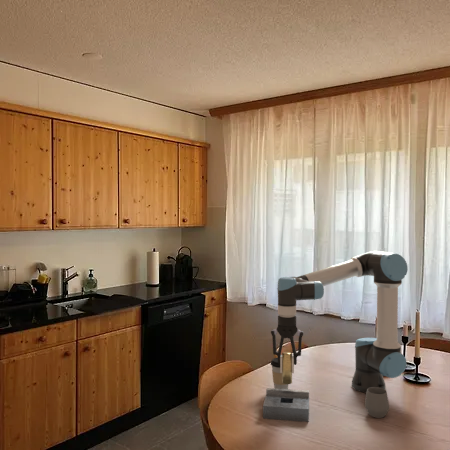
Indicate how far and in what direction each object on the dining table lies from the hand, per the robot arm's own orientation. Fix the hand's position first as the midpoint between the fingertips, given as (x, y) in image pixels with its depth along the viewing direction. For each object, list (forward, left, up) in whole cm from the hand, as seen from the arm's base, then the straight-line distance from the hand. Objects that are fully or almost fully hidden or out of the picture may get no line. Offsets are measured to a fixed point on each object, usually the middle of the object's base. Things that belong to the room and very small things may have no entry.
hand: (287, 371), depth 184 cm
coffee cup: (+4, -21, -17) cm, 28 cm away
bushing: (0, 0, -4) cm, 4 cm away
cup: (-36, -4, -17) cm, 40 cm away
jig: (0, 0, -17) cm, 17 cm away
